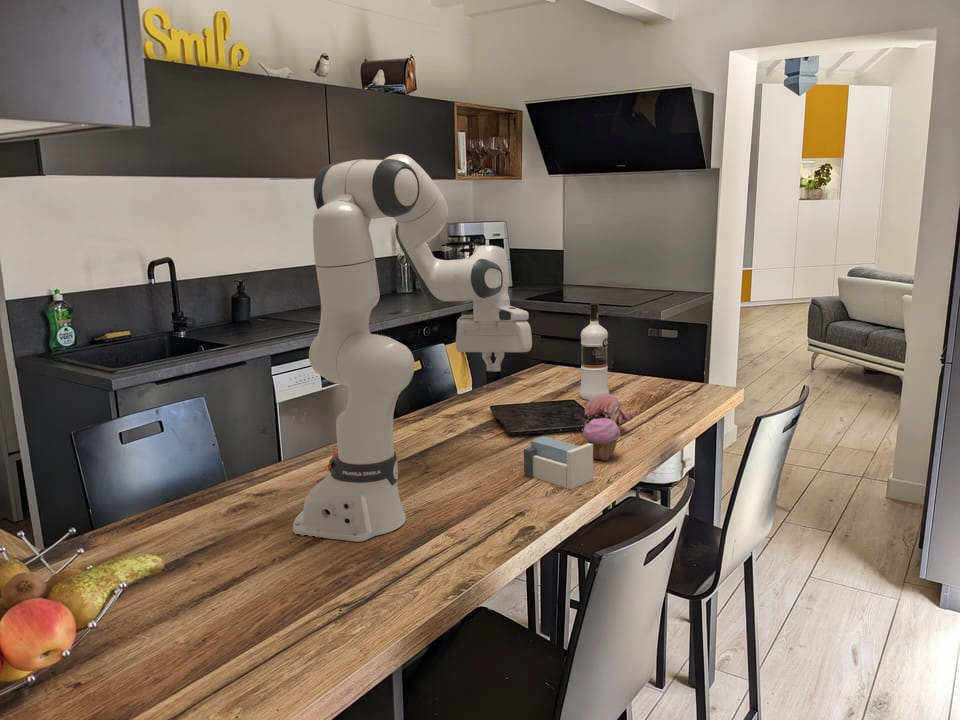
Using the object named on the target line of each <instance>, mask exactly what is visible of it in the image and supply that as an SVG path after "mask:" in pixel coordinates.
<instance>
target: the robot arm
mask: <svg viewBox="0 0 960 720" xmlns="http://www.w3.org/2000/svg"><path fill="white" fill-rule="evenodd" d="M313 198H314V202H315V207H316V211H315V213H314V215H313V220H312V222H313V223H312V240H313V241H312V244H313V258H314V263H315V268H316V269H315V271H316V276H317V277H316V278H317V283H318V290H319V297H320V320H319V321H320V322H319V328H318V332H317V335H316V336H315V337H314V338H313V340H312V342H311V344H310V347H309V351H308V359H309V363H310V366H311V367H312V369H313V371H314V372H315V373H317V374H318V375H319V376H321V377H322V378H324V379H326V380H327V381H329V382H330V383H334V384H337V385H340V386H345V387H347V390H348V397H347V401H346V402H347V403H346V405H345V409H344V410H343V411H342V412H341V413H340V414H338V416H337V418H336V421H335V428H336V429H335V430H336V442H337V443H336V444H337V450H335V452H334V453H333V454H332V456H331V458H330V459H329V463H328V464H327V467H326V468H327V472H329V473H330V474H328V475H327V476H326V477H325V478H323V479H322V480H321V481H320V482H319V483H318V484H316V485H314V487H313V488H312V489H311V490H310V491H309V492H308V494H307V495H306V498H305V501H304V505H303V510H302V511H301V512H299V514H298V515H296V517H295V519H294V520H293V523H292V533H293V534H294V533H295V534H294V535H296V534H300V535H299V536H304V535H308V536H307V537H312V536H315V537H314V538H321V537H322V538H323V539H331V540H341V541H349V542H356V543H357V542H359V543H360V542H364V541H367V540H369V539H372V538H374V537H375V536H376V537H377V536H381V535H384V534H387V533H390V532H393V531H395V530H398V529H399V528H400V527H402V526H403V525H404V524H405V522H406V520H407V515H406V513H405V511H404V508H403V505H402V500H401V496H400V491H399V486H398V478H399V466H398V465H399V463H398V460H397V459H398V458H397V453H396V451H395V446H394V444H395V443H394V413H395V408H396V403H397V400H398V398H399V395H400V394H401V392H402V391H403V390H404V389H405V388H407V386H408V385H409V384H410V382H411V381H412V379H413V376H414V373H415V359H414V355H413V353H412V350H410V348H408V346H406V345H405V344H403V343H401V342H399V341H397V340H396V339H393V338H391V337H389V336H388V335H387V336H386V335H381V334H377V333H371V332H370V318H371V313H372V309H373V308H374V307H376V306H377V304H378V303H379V301H380V296H381V292H380V287H379V280H378V279H379V278H378V271H377V265H376V259H375V251H374V245H373V242H372V236H371V232H370V224H371V221H372V220H374V219H382V218H383V219H384V218H393V219H394V221H395V222H396V224H395V229H394V231H395V237H396V241H397V243H398V245H399V247H400V249H401V251H402V253H403V255H404V257H405V258H406V260H407V262H408V263H409V265H410V267H411V269H412V271H413V272H414V274H415V276H416V278H417V280H418V284H419V287H420V290H421V292H422V294H423V295H424V297H425V298H426V299H427V300H428V301H430V302H431V303H432V304H442V303H449V302H461V301H463V302H466V301H472V305H473V314H461V316H459V318H458V319H457V321H456V333H455V334H456V335H455V349H456V350H457V352H458V353H481V358H482V360H483V362H484V363H485V364H486V371H487V372H501V364H502V362H503V360H504V358H505V353H528V352H530V351H531V349H532V347H533V336H532V329H531V325H530V323H529V322H528V320H529V317H530V315H529V312H528V311H527V310H524V309H522V308H519V307H518V308H517V306H516V307H515V306H512V305H511V303H510V295H509V286H510V275H509V273H510V272H509V263H508V262H509V261H508V257H507V252H506V250H505V249H504V248H503V247H501V246H498V245H492V244H482V245H478V246H476V247H474V249H473V254H472V255H470V256H468V257H467V258H463V259H462V258H461V259H449V260H448V259H446V260H445V259H441V258H437V257H435V256H434V254H433V252H432V250H431V249H430V247H429V245H428V243H427V242H430V241H431V240H433V239H434V238H436V237H437V236H438V235H439V234H440V233H441V232H442V231H443V229H444V228H445V226H446V223H447V221H448V218H449V217H448V216H449V206H448V203H447V201H446V198H445V196H444V195H443V193H442V192H441V191H440V189H439V187H438V186H437V185H436V184H435V182H434V180H433V179H432V178H431V176H430V175H429V174H428V172H426V171H425V170H424V169H423V168H422V166H420V165H419V164H418V163H417V162H416V161H415V160H414V159H413V158H412V157H410V156H409V155H406V154H403V153H396V154H392V155H389V156H387V157H385V158H384V159H365V158H361V159H352V160H349V161H343V162H340V161H338V162H334V163H333V162H332V163H330V164H328V165H326V166H324V167H322V168H320V170H319V171H318V172H317V174H316V176H315V180H314V183H313ZM492 353H494V357H495V360H494V363H493V360H492V359H491V357H492V355H493V354H492Z"/></svg>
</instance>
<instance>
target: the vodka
mask: <svg viewBox="0 0 960 720" xmlns="http://www.w3.org/2000/svg"><path fill="white" fill-rule="evenodd" d="M599 305H600V304H599V303H597V302H591V303H589V324H588V325H587V326H585V327H584V328H583V329H582V330H581V332H580V345H581V366H580V369H581V371H580V372H581V373H580V374H581V378H580V388H579V396H580V398H582V400H586V401H589V400H590V399H591V398H592V397H594V396H595V395H598V394H604V393H608V394H610V389H609V381H608V379H609V378H608V369H609V368H608V367H609V366H608V344H609V342H608V337H609V333H608V330H607V329H606V328H604V327H603V326H602V325H600V323H599Z"/></svg>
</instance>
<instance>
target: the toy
mask: <svg viewBox="0 0 960 720" xmlns="http://www.w3.org/2000/svg"><path fill="white" fill-rule="evenodd" d="M581 417H582V418H583V419H585V421H584V426H585V425H586V424H588V423H589V422H590V421H591V420H593V419H600V418H606V419H611V420H613V421H614V422H615V423H616V424H617V426H618V427H619V424H622V421H623V420H624V421H629V422H630V421H632V420H631V419H630V417H629V416H628V415H627V414H626V412H625V410H624V408H623V407H622V404H621V402H620V400H619V399H618V398H617V396H615V395H613V394H610V393H609V394H608V393H604V394H598V395H595V396H594V397H592V398H591V399H590V400H587V402H586V405H585V407H584V414H582V415H581Z"/></svg>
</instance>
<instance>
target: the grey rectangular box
mask: <svg viewBox="0 0 960 720" xmlns="http://www.w3.org/2000/svg"><path fill="white" fill-rule="evenodd" d="M580 446H581V445H577V444H573V443H569V442H566V441H562V440H558V439H555V438H551V437H547V436H541V437H537V438H534V439H531V440H530V447H531V448H534V449H536V455H537V456H540V457H544V458H547V459H551V460H554V461H557V462H561V463H564V464H567V451H570V450H572V449H575V448H577V447H580Z"/></svg>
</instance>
